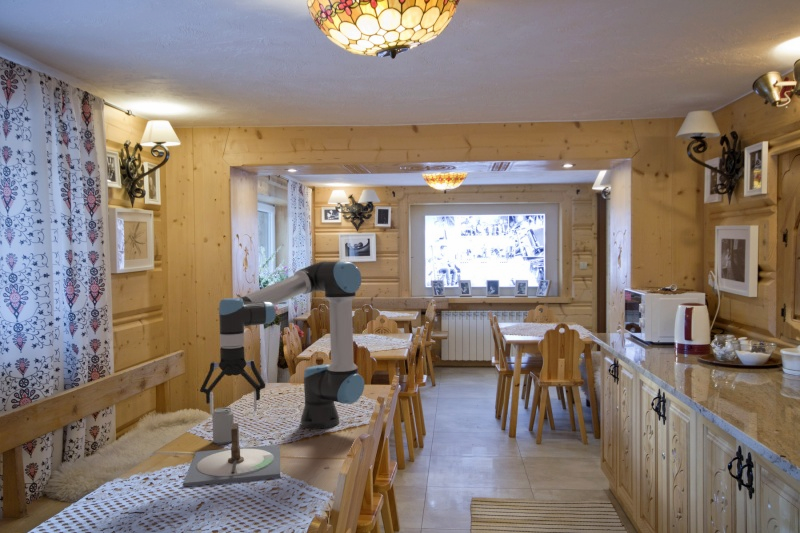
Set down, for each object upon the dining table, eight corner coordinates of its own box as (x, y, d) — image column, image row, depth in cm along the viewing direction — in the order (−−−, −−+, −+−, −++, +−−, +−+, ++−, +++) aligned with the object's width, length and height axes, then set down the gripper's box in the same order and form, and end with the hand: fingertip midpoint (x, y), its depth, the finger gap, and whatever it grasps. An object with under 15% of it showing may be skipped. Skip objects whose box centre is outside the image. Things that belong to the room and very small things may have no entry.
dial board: (279, 447, 211) (279, 443, 211) (280, 477, 184) (280, 472, 184) (196, 455, 206) (196, 450, 206) (184, 486, 178) (184, 481, 178)
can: (228, 445, 215) (227, 412, 215) (209, 444, 217) (208, 411, 216) (238, 438, 223) (237, 406, 222) (219, 437, 224) (218, 406, 224)
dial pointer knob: (244, 456, 198) (243, 422, 198) (241, 474, 183) (240, 437, 182) (228, 458, 197) (227, 423, 197) (224, 476, 182) (223, 439, 181)
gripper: (271, 342, 200) (273, 406, 200) (193, 346, 195) (194, 411, 195) (271, 346, 192) (273, 412, 193) (189, 350, 187) (191, 417, 188)
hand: (233, 411), depth 194 cm, fingers open, 13 cm apart
